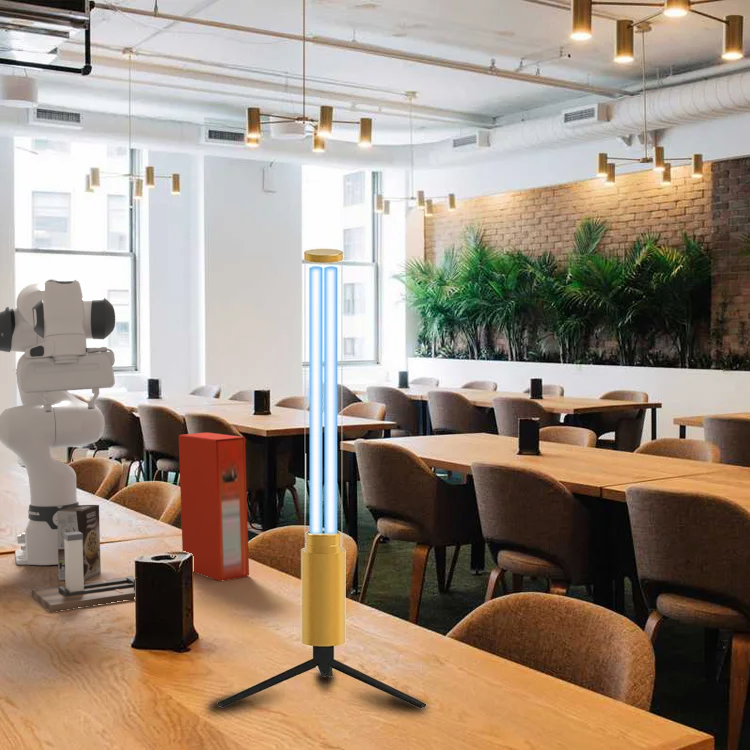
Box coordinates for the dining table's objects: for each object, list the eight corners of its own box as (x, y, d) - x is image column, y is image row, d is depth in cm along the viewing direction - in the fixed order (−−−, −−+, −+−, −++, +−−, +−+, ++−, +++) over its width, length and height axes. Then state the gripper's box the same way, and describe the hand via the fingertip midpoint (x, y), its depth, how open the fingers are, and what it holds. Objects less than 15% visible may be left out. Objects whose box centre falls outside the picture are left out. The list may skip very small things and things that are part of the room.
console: (31, 596, 224) (31, 580, 224) (132, 582, 235) (131, 566, 235) (51, 612, 210) (50, 595, 210) (156, 596, 222) (156, 580, 222)
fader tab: (65, 590, 221) (63, 533, 221) (80, 588, 223) (78, 531, 222) (69, 593, 219) (67, 535, 218) (84, 591, 220) (82, 533, 220)
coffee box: (83, 581, 237) (81, 510, 237) (57, 580, 239) (55, 510, 238) (102, 572, 246) (100, 504, 246) (76, 571, 247) (74, 503, 247)
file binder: (218, 581, 234) (214, 439, 233) (181, 569, 248) (178, 434, 247) (249, 576, 239) (246, 436, 238) (212, 564, 253) (208, 432, 252)
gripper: (114, 347, 240) (118, 407, 239) (22, 353, 237) (25, 414, 236) (112, 345, 234) (116, 406, 233) (17, 350, 231) (20, 413, 230)
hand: (69, 410), depth 234 cm, fingers open, 8 cm apart
